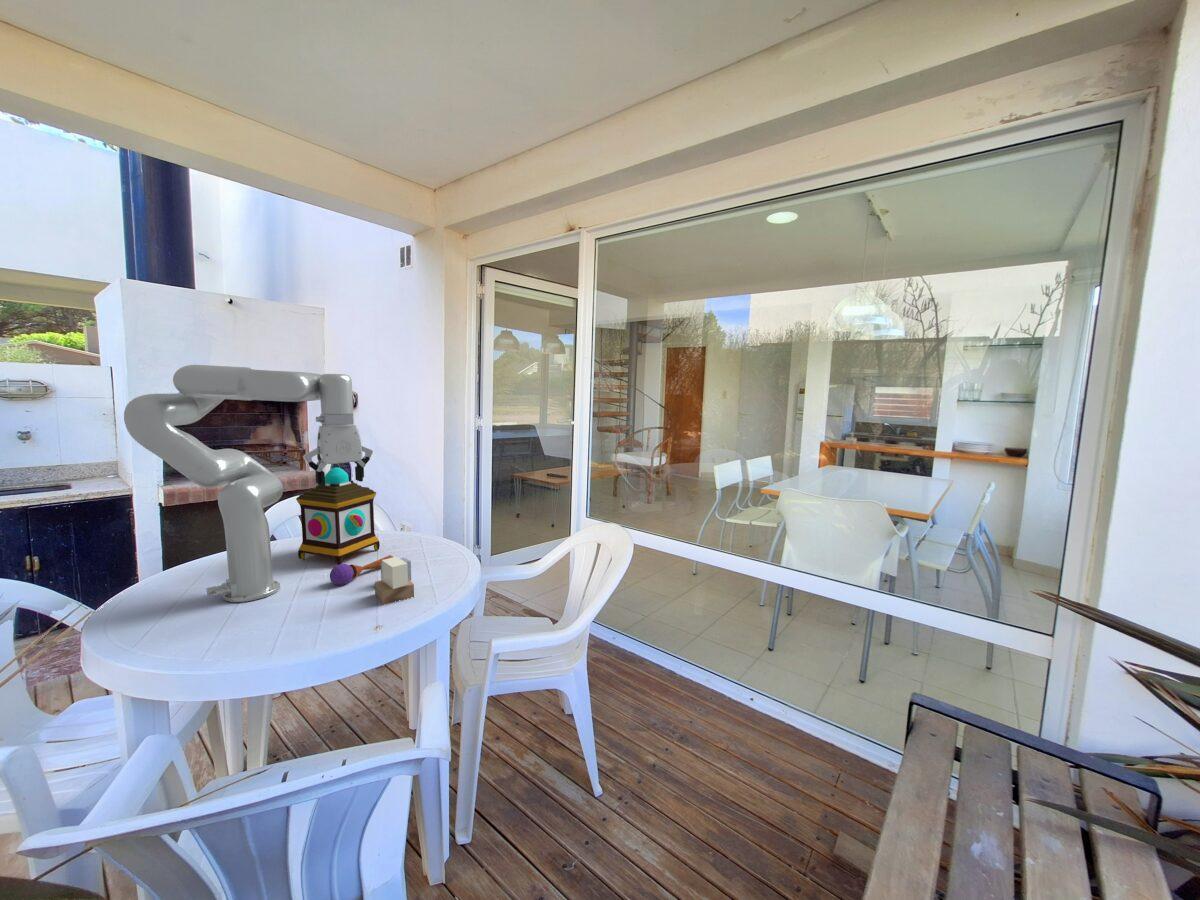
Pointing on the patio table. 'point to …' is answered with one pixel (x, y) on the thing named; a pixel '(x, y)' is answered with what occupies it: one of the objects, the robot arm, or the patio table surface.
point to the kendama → (351, 571)
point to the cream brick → (394, 572)
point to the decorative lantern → (337, 518)
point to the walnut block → (393, 592)
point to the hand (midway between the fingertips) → (340, 483)
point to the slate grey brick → (408, 567)
